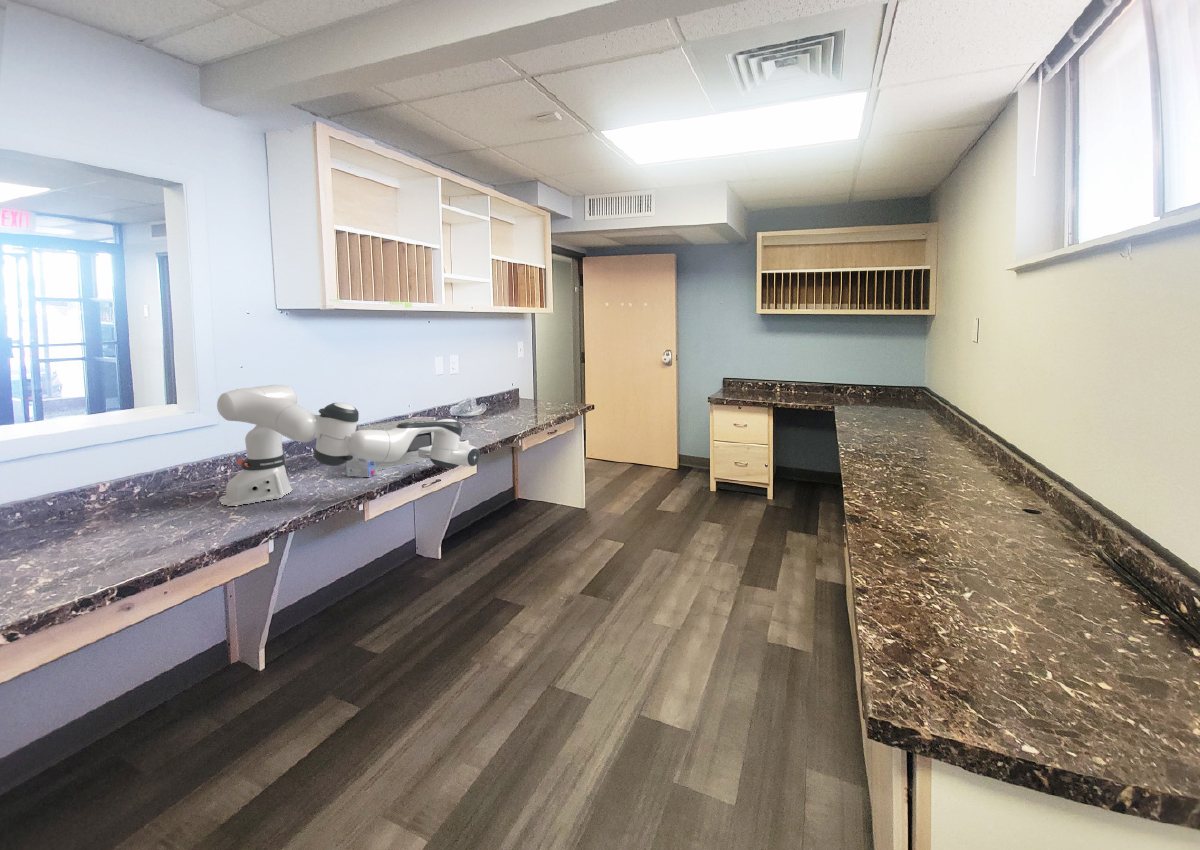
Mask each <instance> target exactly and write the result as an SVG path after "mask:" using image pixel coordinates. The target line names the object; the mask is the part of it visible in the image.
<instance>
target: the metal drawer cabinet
mask: <svg viewBox="0 0 1200 850" xmlns="http://www.w3.org/2000/svg"><path fill="white" fill-rule="evenodd" d="M418 417H419V418H413V419H410V418H407V419H402V420H394V421H388V422H380V423H375V424H368V425H367V424H366V425H362V426H358V429H357V430H385V431H387V430H391V429H394V428H395V427H396V426H397V425H398V424H400V423H404V422H416V421H434V419H431V418H427V417H428V416H418ZM421 434H425V435H429V436H430V445H432V444H433V438H434V432H423V433H419V434H418V435H421ZM423 460H428V459H427V458H421V457H419V456H418V449H416V450H411V451H408V450H407V452H406V453H405V454H404V455H403V456H402V457H401V458H400V459H399V460H397V461H394V462H377V461H375V469H376V471H377V470H382V469H386V468H391V467H395V466H400V465H405V466H407V465H406V464H410V463H414V462H419V461H423ZM428 461H429V460H428ZM419 463H420V462H419ZM414 464H415V463H414ZM410 465H411V464H410ZM400 467H401V466H400ZM391 469H392V468H391ZM386 470H387V469H386ZM382 471H383V470H382ZM377 472H378V471H377Z"/></svg>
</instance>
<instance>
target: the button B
mask: <svg viewBox="0 0 1200 850" xmlns="http://www.w3.org/2000/svg"><path fill="white" fill-rule="evenodd" d="M427 446H430V436H429V435H425V434H421V435H417V436H416V437H415V438H414V439H413V441H412V442H411V444H410V446H409V448H408V451H411V450H416V449H419V448H422V447H427Z"/></svg>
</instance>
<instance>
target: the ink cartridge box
mask: <svg viewBox="0 0 1200 850" xmlns="http://www.w3.org/2000/svg"><path fill="white" fill-rule="evenodd" d="M351 456H353V455H351ZM345 464H346V465H345V466H346V477H347V476H359V477H358V478H363V477H369V476H371V477H373V476H372V475H374V474H376V475H377V472H376V469H375V461H369V460H365V459H361V458H357V457H355V456H353V459H352V460H350V461H347V462H346V463H345ZM374 476H375V475H374ZM369 478H370V477H369Z"/></svg>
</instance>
